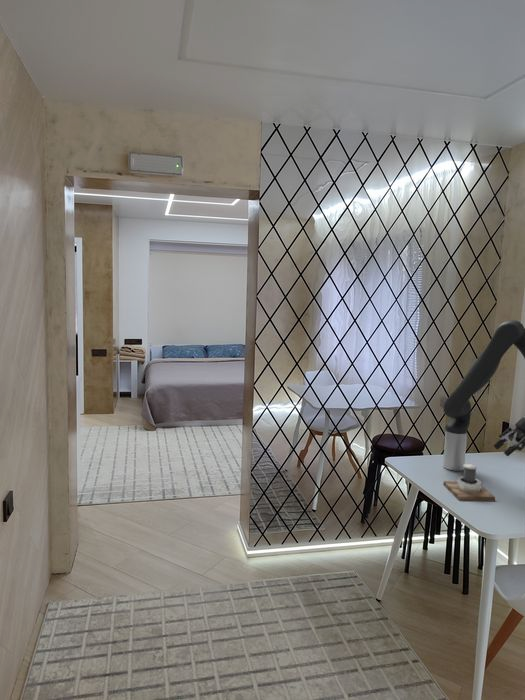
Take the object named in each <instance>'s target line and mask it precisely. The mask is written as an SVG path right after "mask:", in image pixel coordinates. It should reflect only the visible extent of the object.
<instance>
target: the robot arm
mask: <svg viewBox="0 0 525 700" xmlns="http://www.w3.org/2000/svg"><path fill="white" fill-rule="evenodd" d="M513 345H514V346H515V347H516V348H517V349H518V351H519V352H520V353H521V355H522V357H523V359H524V360H525V326H524V324H523V323H521V322H520V321H518V320H515V319H510V320H506V321H504V322H502V323H500V324H499V325H498V326H497V328H496V329H495V331H494V334H493V336H492V337H491V339H490V341H489V343H488V344H487V346H486V347H485V349H484V350H483V351H482V352H481V353H480V354H479V356H478V357H477V358H476V360H475V361H474V362H473V364H472V365H471V367H470V368H469V369H468V371H467V373H466V374H465V376H464V377H463V378H462V380H461V381H460V383H459V384H458V386H457V387H456V388H455V390H454V391H453V392H452V393H451V394H450V395H449V396H448V397H447V399H446V400H445V401H444V404H443V413H444V415H445V416H447V417H448V418H450V420H449V421H448V422H447V423H446V425H445V433H444V449H443V462H442V465H443V468H444V469H446V470H448V471H454V472H455V471H456V472H462V471H464V467H463V465H464V464H466V453H467V452H466V449H467V440H468V439H467V436H468V429H469V427H470V421H471V414H472V405H471V402H470V398H471V397H473V395H475V394H476V393H478V392H479V391H480V390H481V389H482V388H483V387H486V385H487V384H488V383H489V382H490V380H491V379H492V378H493V376H494V375H495V374H496V372H497V370H498V367H499V365H500V363H501V360H502V358H503V357H504V355H505V354H506V353H507V351H508V350H509V349H510V348H511V347H512V346H513ZM514 426H515V428H514V429H512V428H511V426H509V427H507V428H506V429H505V430H504V431H503V432H502V433H500V435H498V438H499V440H498V441H496V443H495V444H493V448H495V449H496V450H499V449H500V448H502V447H503V446H504V445H505V444H507V443H511V444H510V446H509V447H507V448H506V449H505V450H504V451H503V454H504V455H505V456H507V457H509V456H510V455H512V454H513V453H514V452H515V451H522V450H523V449H524V448H525V415H524V416H522V417H521V418H520V419H519V420H518V421H517V422H516V423H514Z"/></svg>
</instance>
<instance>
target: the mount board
mask: <svg viewBox="0 0 525 700" xmlns="http://www.w3.org/2000/svg"><path fill="white" fill-rule="evenodd" d="M443 486H444V487H445V488H446V489H447V490H448V491H449V492H450V493H451V494H452V495H453V496H454V497H455V498H456V499H457V500H458V501H482V502H483V501H491V502H495V501H496V496H494V495H493V494H492V493H491V492H490V491H488V490H487V489H486V488H485V487H484V486H482V485H481V488H480V492H478V493H468V492H463V491H461V490H459V489H458V488H457V480H456V481H451V480H450V481H446V480H444V481H443Z"/></svg>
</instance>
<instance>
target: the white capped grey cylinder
mask: <svg viewBox="0 0 525 700" xmlns="http://www.w3.org/2000/svg"><path fill="white" fill-rule="evenodd" d="M463 467H464V470H463V476H462V477H463V482H466V483H475V479H476V475H477V469H478V466H477V465H475V464H471V463H465V464H464V465H463Z"/></svg>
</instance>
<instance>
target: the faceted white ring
mask: <svg viewBox="0 0 525 700" xmlns="http://www.w3.org/2000/svg"><path fill="white" fill-rule="evenodd" d="M463 477H464V476H458V477H457V479H456V481H457V488H458V489H459V490H461V491H463V492H468V493H478V492H480V488H481V486H482V481H481V480H480V479H478V478H475V483H466V482H463Z"/></svg>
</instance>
